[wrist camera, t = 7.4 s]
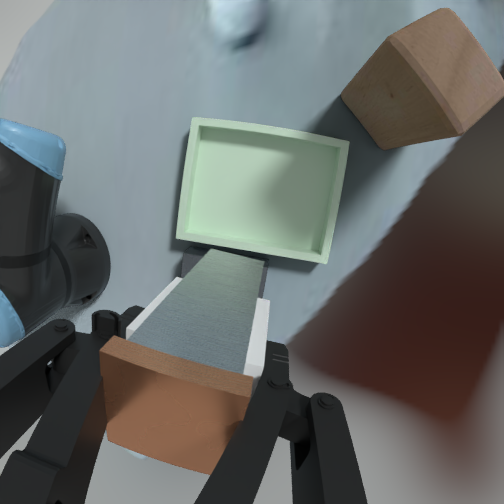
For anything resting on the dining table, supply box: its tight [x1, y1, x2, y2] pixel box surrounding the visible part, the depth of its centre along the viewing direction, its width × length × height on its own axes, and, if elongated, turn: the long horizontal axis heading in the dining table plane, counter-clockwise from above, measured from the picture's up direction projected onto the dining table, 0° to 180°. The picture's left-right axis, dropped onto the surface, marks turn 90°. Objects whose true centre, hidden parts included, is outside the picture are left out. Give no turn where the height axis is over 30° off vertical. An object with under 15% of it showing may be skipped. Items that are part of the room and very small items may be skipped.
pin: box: [99, 249, 264, 475], centre depth 16 cm, size 5×5×15 cm
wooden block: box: [341, 8, 504, 150], centre depth 26 cm, size 10×10×20 cm
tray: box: [176, 117, 350, 264], centre depth 39 cm, size 20×16×3 cm
